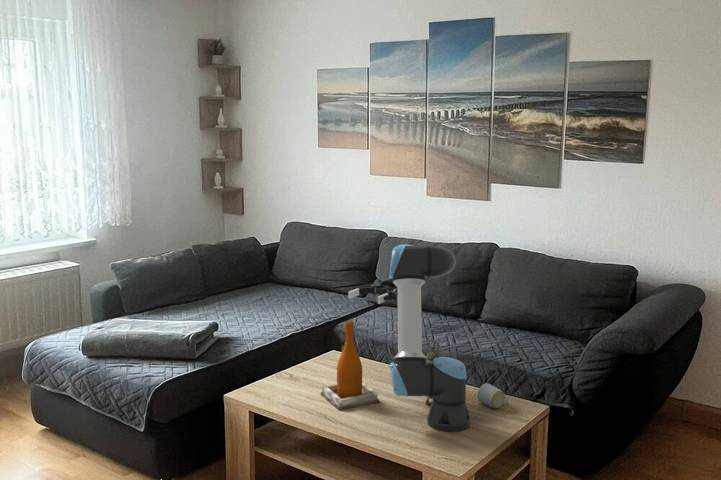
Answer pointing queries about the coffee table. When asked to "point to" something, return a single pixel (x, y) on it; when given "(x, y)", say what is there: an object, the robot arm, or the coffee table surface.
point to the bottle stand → (350, 402)
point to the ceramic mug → (491, 396)
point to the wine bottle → (349, 367)
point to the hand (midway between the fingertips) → (363, 297)
